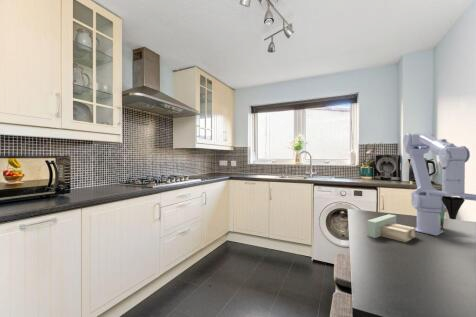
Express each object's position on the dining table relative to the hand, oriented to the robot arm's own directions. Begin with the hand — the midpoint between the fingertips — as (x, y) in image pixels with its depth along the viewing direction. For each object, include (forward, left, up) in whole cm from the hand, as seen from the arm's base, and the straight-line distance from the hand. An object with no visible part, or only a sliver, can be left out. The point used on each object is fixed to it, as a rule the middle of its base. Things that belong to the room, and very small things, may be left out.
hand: (452, 218), depth 78 cm
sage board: (+6, -20, -9) cm, 23 cm away
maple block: (+6, -14, -10) cm, 19 cm away
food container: (-24, -10, -10) cm, 28 cm away
